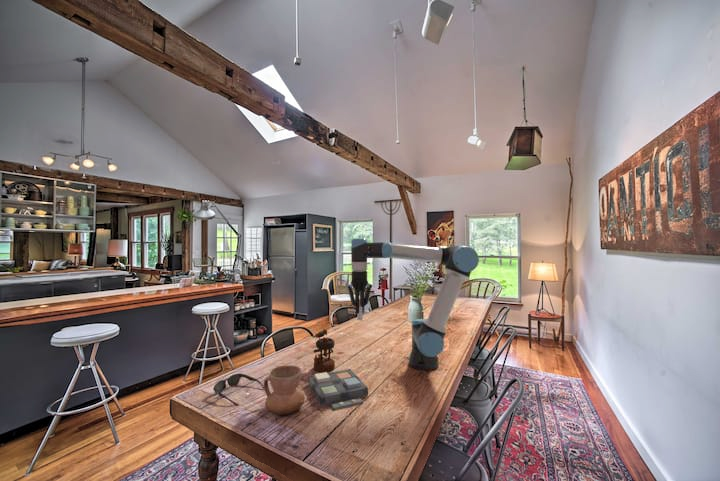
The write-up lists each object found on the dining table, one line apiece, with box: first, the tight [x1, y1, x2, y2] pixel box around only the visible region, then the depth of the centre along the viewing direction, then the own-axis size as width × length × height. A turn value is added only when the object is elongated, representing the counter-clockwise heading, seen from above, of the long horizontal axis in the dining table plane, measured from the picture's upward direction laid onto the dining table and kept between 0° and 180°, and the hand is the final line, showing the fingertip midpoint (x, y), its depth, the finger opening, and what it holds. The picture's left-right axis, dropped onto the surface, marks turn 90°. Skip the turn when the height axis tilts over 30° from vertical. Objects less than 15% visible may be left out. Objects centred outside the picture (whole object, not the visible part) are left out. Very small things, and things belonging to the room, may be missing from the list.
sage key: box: [321, 385, 338, 394], centre depth 121 cm, size 6×6×2 cm
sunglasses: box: [213, 373, 265, 407], centre depth 125 cm, size 16×17×5 cm
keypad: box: [307, 368, 369, 408], centre depth 127 cm, size 20×20×4 cm
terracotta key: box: [336, 372, 352, 379], centre depth 134 cm, size 6×6×2 cm
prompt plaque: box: [330, 398, 364, 411], centre depth 116 cm, size 12×3×1 cm, turn 113°
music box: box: [311, 328, 336, 374], centre depth 150 cm, size 15×11×20 cm
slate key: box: [344, 377, 361, 389], centre depth 125 cm, size 6×6×2 cm
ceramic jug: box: [263, 365, 306, 416], centre depth 114 cm, size 18×14×14 cm
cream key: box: [314, 372, 330, 383], centre depth 130 cm, size 6×6×2 cm
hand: (359, 319), depth 142 cm, fingers closed
